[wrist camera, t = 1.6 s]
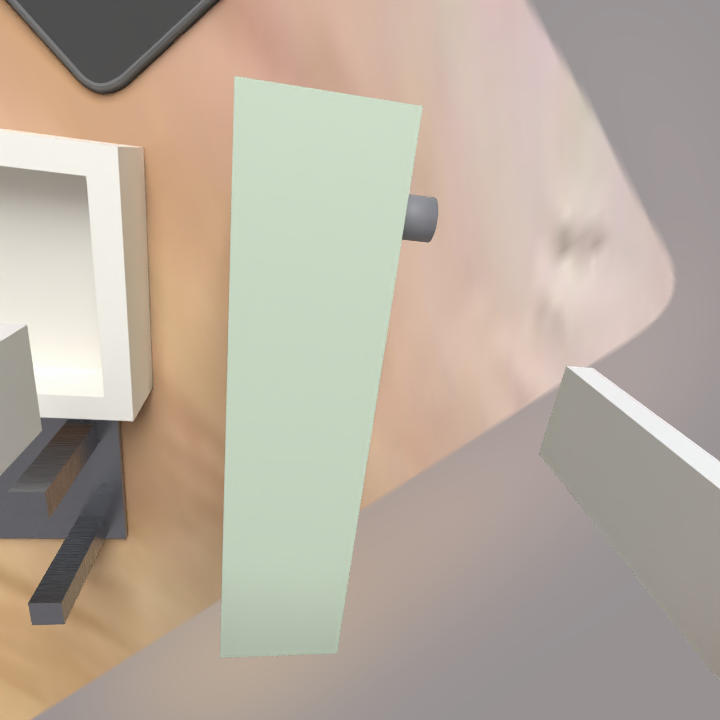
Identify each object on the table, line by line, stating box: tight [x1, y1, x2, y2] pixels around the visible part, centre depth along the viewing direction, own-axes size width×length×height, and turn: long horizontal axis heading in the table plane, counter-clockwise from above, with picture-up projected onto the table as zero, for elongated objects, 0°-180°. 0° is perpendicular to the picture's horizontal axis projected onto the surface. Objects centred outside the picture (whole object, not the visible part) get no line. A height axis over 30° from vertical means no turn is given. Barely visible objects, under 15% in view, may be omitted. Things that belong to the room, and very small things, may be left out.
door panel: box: [220, 76, 438, 658], centre depth 16 cm, size 13×4×12 cm, turn 173°
